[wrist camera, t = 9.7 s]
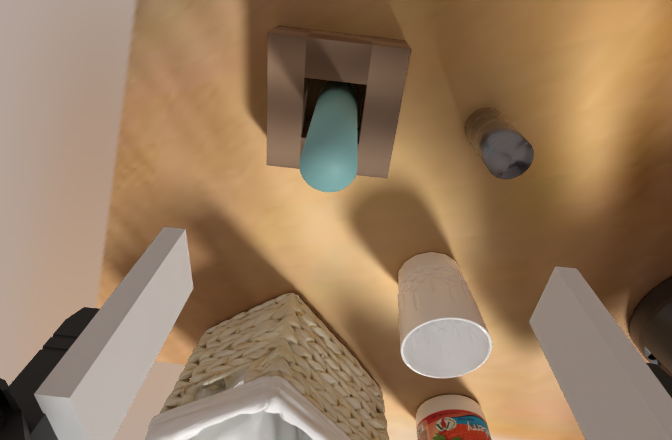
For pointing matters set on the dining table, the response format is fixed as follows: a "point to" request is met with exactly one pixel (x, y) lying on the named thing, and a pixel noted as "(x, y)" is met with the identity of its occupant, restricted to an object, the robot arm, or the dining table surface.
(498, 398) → the dining table surface
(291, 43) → the hole block
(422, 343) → the white cup
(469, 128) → the short pin
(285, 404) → the storage basket
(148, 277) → the robot arm
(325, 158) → the long pin
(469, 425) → the fruit juice
